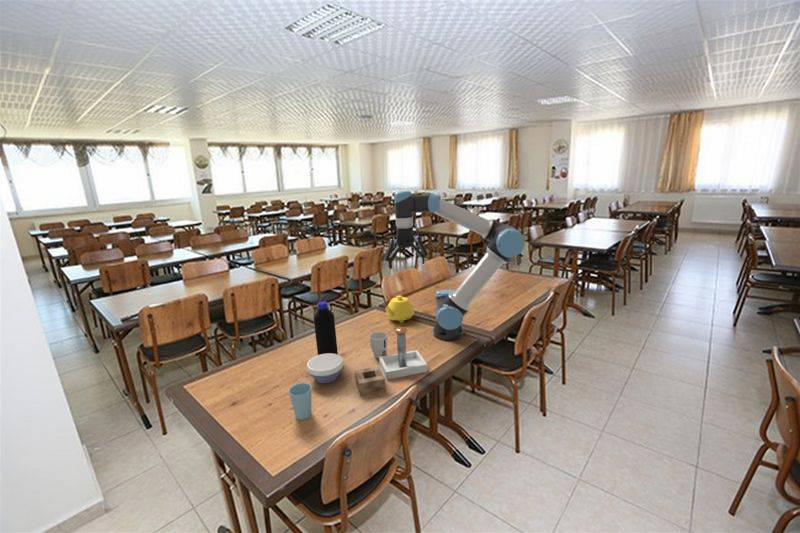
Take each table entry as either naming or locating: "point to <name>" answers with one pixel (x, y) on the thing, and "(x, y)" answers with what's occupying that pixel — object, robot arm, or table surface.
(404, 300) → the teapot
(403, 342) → the pin
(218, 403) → the table surface
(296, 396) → the cup
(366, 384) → the socket block
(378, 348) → the cup
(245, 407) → the table surface
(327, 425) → the table surface
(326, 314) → the bottle
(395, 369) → the tray
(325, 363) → the bowl
